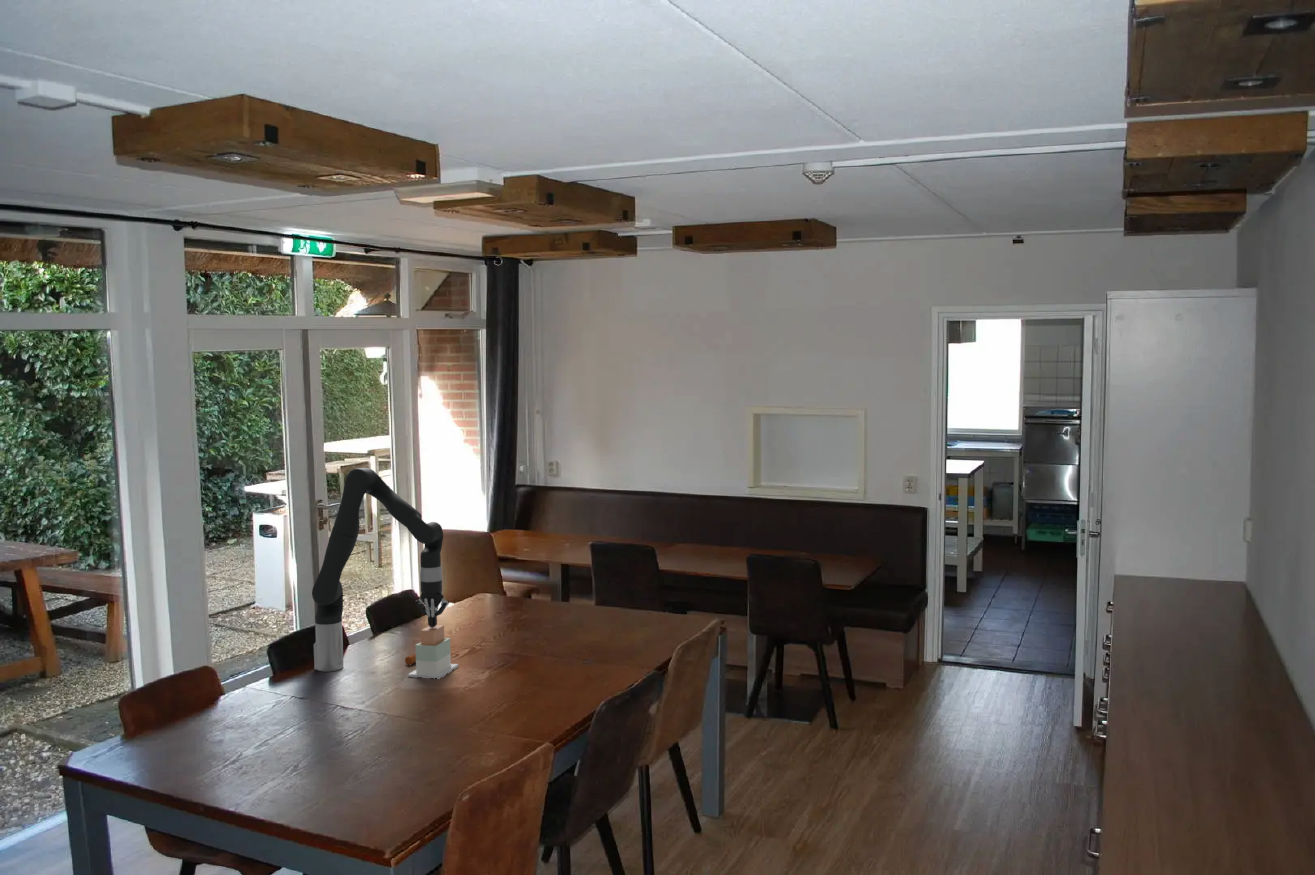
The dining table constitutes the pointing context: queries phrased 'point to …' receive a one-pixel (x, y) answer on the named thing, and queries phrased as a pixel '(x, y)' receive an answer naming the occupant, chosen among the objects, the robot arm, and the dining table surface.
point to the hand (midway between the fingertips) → (432, 626)
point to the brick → (432, 635)
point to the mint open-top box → (433, 660)
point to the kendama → (410, 659)
